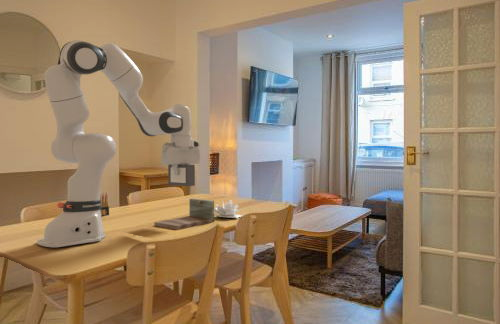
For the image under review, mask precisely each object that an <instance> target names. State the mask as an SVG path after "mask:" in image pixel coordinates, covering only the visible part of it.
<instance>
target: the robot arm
mask: <svg viewBox="0 0 500 324" xmlns="http://www.w3.org/2000/svg"><path fill="white" fill-rule="evenodd" d="M58 56H59V57H58V60H57V64H56V65H53V66H52V65H51V66H50V67H48V68H47V69H46V70H45V72H44V77H43V78H44V84H45V88H46V93H47V97H48V99H49V102H50V105H51V108H52V111H53V114H54V118H55V122H56V135H55V138H54V139H53V140H52V143H51V146H50V147H51V148H50V151H51V154H52V156H53V157H54V158H55V159H56V160H57V161H60V162H64V163H68V164H70V163H71V164H77V165H78V166H77V168H76V171H75V172H74V174H73V175H71V176H69V178H68V180H67V200H66V201H65V202H58V203H57V204H56V206H57V208H58V209H62V212H61V213H60V214H58V215H57V216H56V217H54V218H53V219H52V220H51V221H50V222H48V223H47V224H46V226H45V229H44V233H43V234H44V236H43V237H42V238H39V239H37V240H36V244H37V245H39V246H42V247H47V248H61V247H62V248H63V247H68V246H75V245H80V244H87V243H88V244H89V243H95V242H100V241H102V239H103V238H104V237H106V234H105V230H104V228H103V227H104V226H103V221H102V217H101V209H102V205H101V199H102V198H101V199H100V193H101V181H102V176H103V172H104V170H105V168H106V166H107V164H108V163H109V162H110V161H111V160H113V159H114V158H115V156H116V153H117V144H116V141H115V140H114V138H113V137H112V136H110V135H107V134H103V133H98V132H94V133H93V132H91V133H89V132H88V133H85V130H84V125H85V122H86V121H87V120H88V119H89V117H90V111H89V108H88V105H87V101H86V98H85V95H84V92H83V89H82V87H81V78H82V77H81V76H82V75H91V74H95V73H96V72H99V71H101V72H102V73H103V74H104V75H105V76H106V78H108V80H109V81H110V82H111V83H112V85H113V86H114V88H115V89H116V90H117V91H118V94H119V97H120V98H121V99H122V101H123V102H124V104H125V105H126V107H127V108H128V109H129V111H130V112H131V113H132V115H133V116H134V117H135V119H136V121H137V123H138V126H139V128H140V129H139V130H141V132H142V133H143V134H144V135H146V136H147V137H155V136H157V137H158V136H164V135H170V142H164V143H163V145H162V150H161V157H160V158H161V159H160V161H161V164H162V165H163V166H164V165H165V166H168V165H172V168H173V170H174V175H179V171H178V169H177V167H178V164H187V165H199V163H200V162H201V150H200V148H199V147H200V146H201V144H200V142H199V141H197V140H196V139H193V138H192V133H191V132H192V131H191V129H192V115H191V114H192V113H191V110H190V108H189V106H186V105H182V104H173V105H172V106H171V107H170V108H168V109H165V110H162V111H157V112H153V111H151V110H150V109H148V107H147V106H146V104H145V103H144V102H143V100H142V99H141V97H140V95H139V90H140V89H141V88H142V86H143V82H144V76H143V74H142V72H141V70H140V68H138V66H137V64H136V63H135V62H134V60H132V59H131V57H130V56H128V54H127V53H126V52H125V51H124V50H123V49H121V48H120V47H119V45H117V44H115V43H111V42H109V43H105V44H103V45H101V46H97V45H95V44H92V43H90V42H88V41H83V40H73V41H69V42H67V43H65V44H64V45H62V47H61V49H60V53H59V55H58Z"/></svg>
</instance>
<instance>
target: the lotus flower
mask: <svg viewBox="0 0 500 324" xmlns="http://www.w3.org/2000/svg"><path fill="white" fill-rule="evenodd" d="M224 203H225V202H224V201H222V206H221V205H218V204H217V203H215V204H216V207H215V206H214V217H215V216H216V217H219V218H227V219H228V218H229V219H230V218H231V219H238V218H239V217H240V218H242V217H243V214H242V215H241V214H237V213H238V212H239V211H241V208H239V203H235V204H234V203H233V200H232V199H230V200H229V201H228V202H226V203H225V204H224ZM238 208H239V209H238ZM241 216H242V217H241ZM240 218H239V219H240Z"/></svg>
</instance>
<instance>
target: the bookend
mask: <svg viewBox="0 0 500 324" xmlns="http://www.w3.org/2000/svg"><path fill="white" fill-rule="evenodd" d="M214 210H215V200H210V199H201V198H200V199H199V198H189V215H187V216H181V217H177V218H171V219H165V220H160V221H156V222H154V227H159V228H165V229H172V230H176V231H178V230H182V229H187V228H191V227H196V226H201V225H206V224H210V223H215V215H214V214H215V211H214Z"/></svg>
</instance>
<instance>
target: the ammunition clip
mask: <svg viewBox="0 0 500 324" xmlns="http://www.w3.org/2000/svg"><path fill="white" fill-rule="evenodd" d="M100 199H101V205H102V209H101V218H102V217H107V216H110V208H109V207H110V206H109V200H108V192H107V191H106V192H105V193H104V192H102V193H101V192H100Z"/></svg>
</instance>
